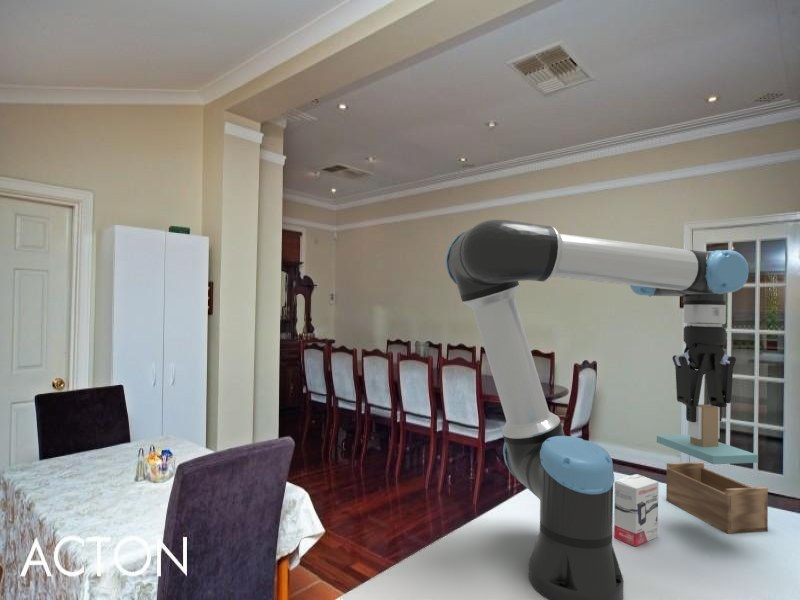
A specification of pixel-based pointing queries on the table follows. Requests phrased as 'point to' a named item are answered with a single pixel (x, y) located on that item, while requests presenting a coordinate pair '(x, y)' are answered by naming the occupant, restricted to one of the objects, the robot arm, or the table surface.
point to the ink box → (636, 509)
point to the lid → (708, 443)
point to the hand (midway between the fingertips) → (703, 437)
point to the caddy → (717, 498)
